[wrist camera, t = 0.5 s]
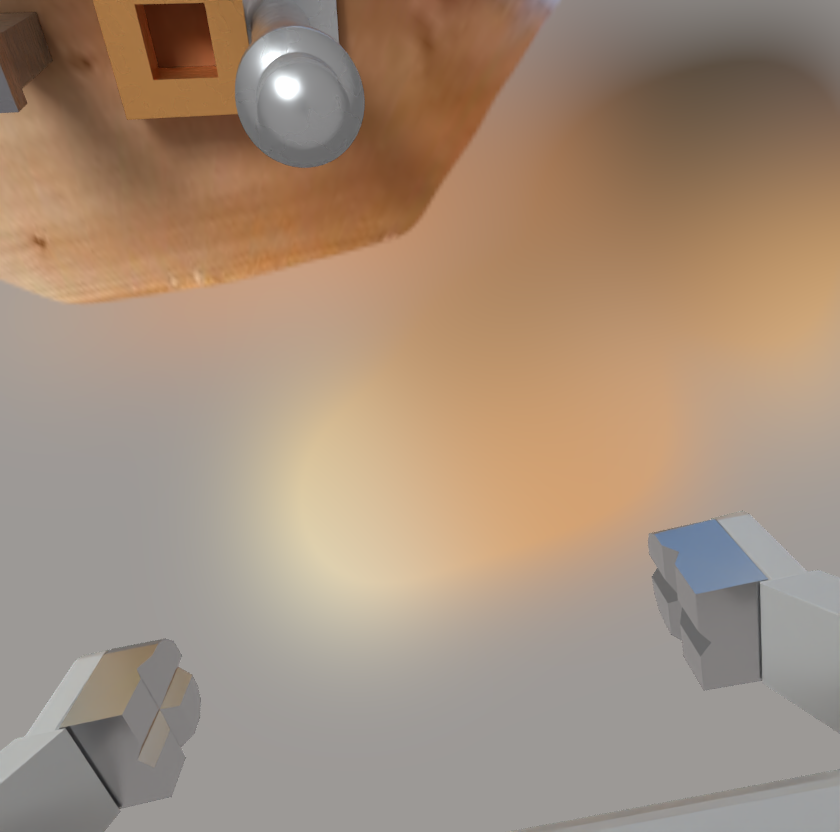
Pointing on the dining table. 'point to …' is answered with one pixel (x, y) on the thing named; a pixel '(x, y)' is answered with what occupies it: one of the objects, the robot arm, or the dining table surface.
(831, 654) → the robot arm
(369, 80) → the dining table surface
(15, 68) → the grey square peg
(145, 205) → the dining table surface
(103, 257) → the dining table surface
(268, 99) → the metal post on base
